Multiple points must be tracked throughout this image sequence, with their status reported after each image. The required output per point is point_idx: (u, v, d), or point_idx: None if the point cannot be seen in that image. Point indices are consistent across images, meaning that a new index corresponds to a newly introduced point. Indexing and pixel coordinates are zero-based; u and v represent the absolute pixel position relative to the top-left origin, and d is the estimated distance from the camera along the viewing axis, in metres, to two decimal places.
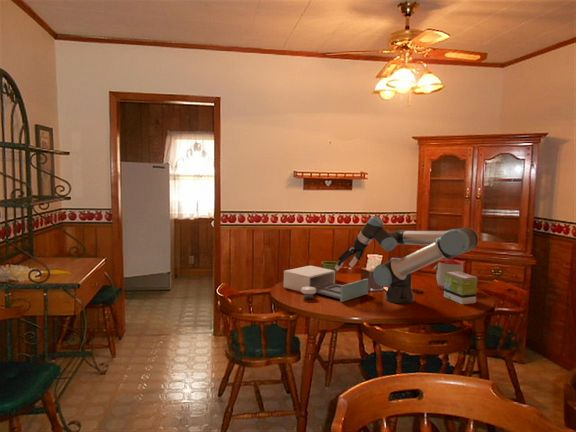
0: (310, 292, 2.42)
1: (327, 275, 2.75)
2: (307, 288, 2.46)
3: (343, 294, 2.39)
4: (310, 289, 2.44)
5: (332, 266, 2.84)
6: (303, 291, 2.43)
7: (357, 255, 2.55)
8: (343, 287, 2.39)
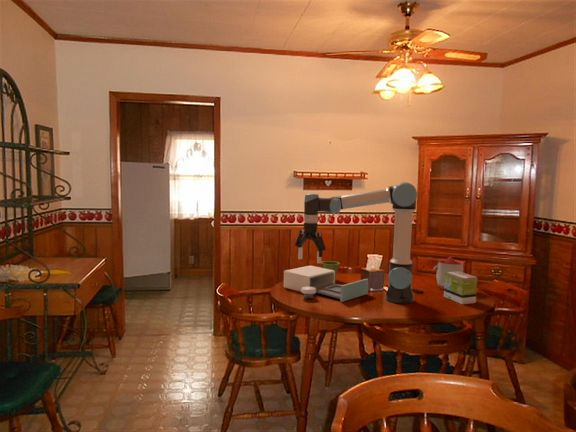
0: (310, 292, 2.42)
1: (327, 275, 2.75)
2: (307, 288, 2.46)
3: (343, 294, 2.39)
4: (310, 289, 2.44)
5: (332, 266, 2.84)
6: (303, 291, 2.43)
7: (302, 243, 2.47)
8: (343, 287, 2.39)
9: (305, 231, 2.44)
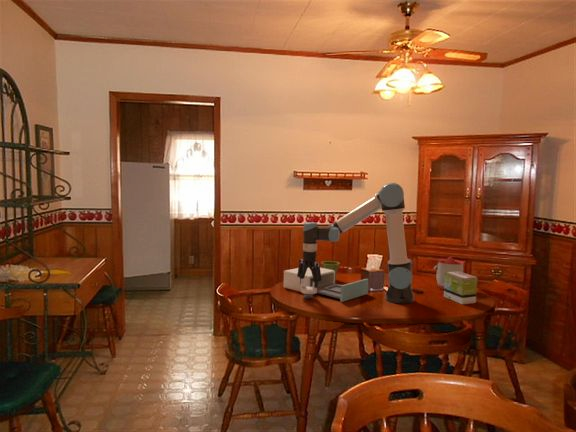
0: (310, 292, 2.42)
1: (327, 275, 2.75)
2: (307, 288, 2.46)
3: (343, 294, 2.39)
4: (310, 289, 2.44)
5: (331, 266, 2.84)
6: (303, 291, 2.43)
7: (304, 273, 2.48)
8: (343, 287, 2.39)
9: (304, 259, 2.45)
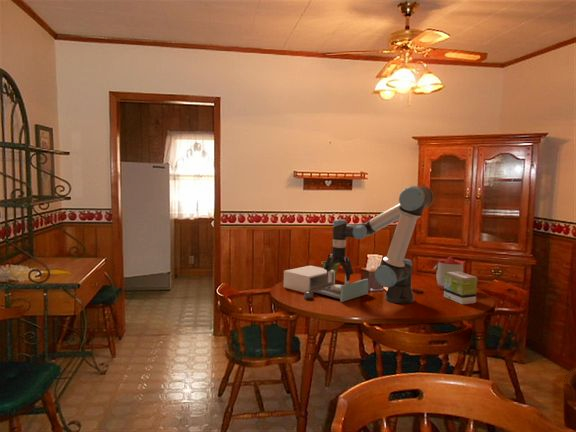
0: (339, 290, 2.52)
1: None
2: (336, 286, 2.56)
3: (343, 294, 2.39)
4: (339, 287, 2.54)
5: None
6: (333, 289, 2.53)
7: (331, 267, 2.58)
8: (343, 287, 2.39)
9: (333, 255, 2.55)
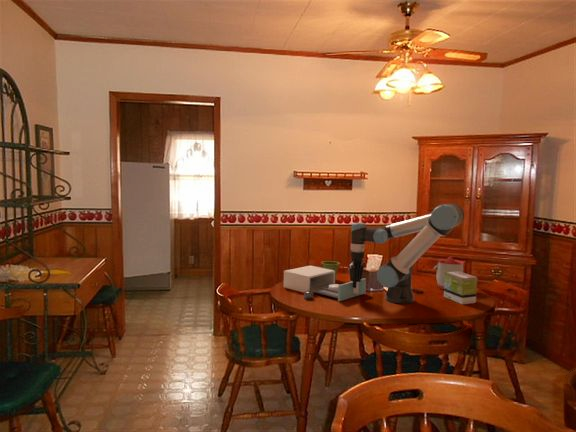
0: (337, 289, 2.53)
1: (327, 275, 2.75)
2: (334, 285, 2.57)
3: (341, 293, 2.40)
4: (337, 286, 2.55)
5: (332, 266, 2.84)
6: (330, 288, 2.54)
7: None
8: (341, 286, 2.40)
9: (355, 261, 2.42)
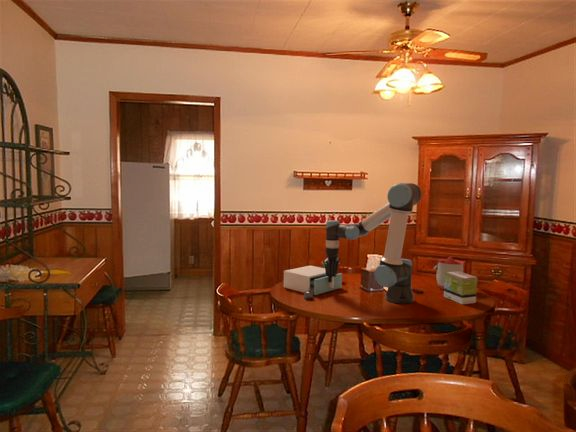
0: None
1: None
2: (311, 280, 2.69)
3: (316, 287, 2.52)
4: None
5: None
6: None
7: None
8: (316, 281, 2.51)
9: (330, 256, 2.54)
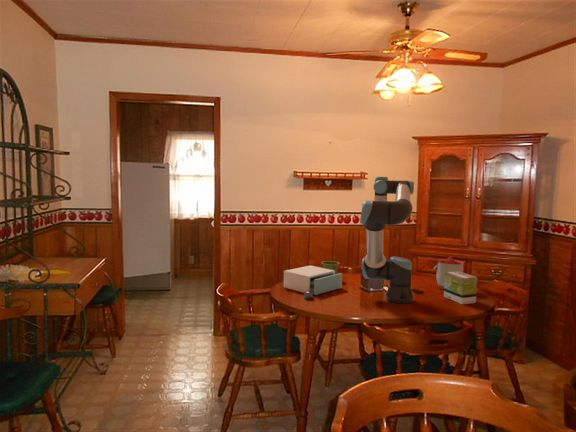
0: None
1: (327, 275, 2.75)
2: (312, 280, 2.68)
3: (316, 287, 2.52)
4: None
5: (331, 266, 2.84)
6: None
7: None
8: (316, 281, 2.51)
9: None
